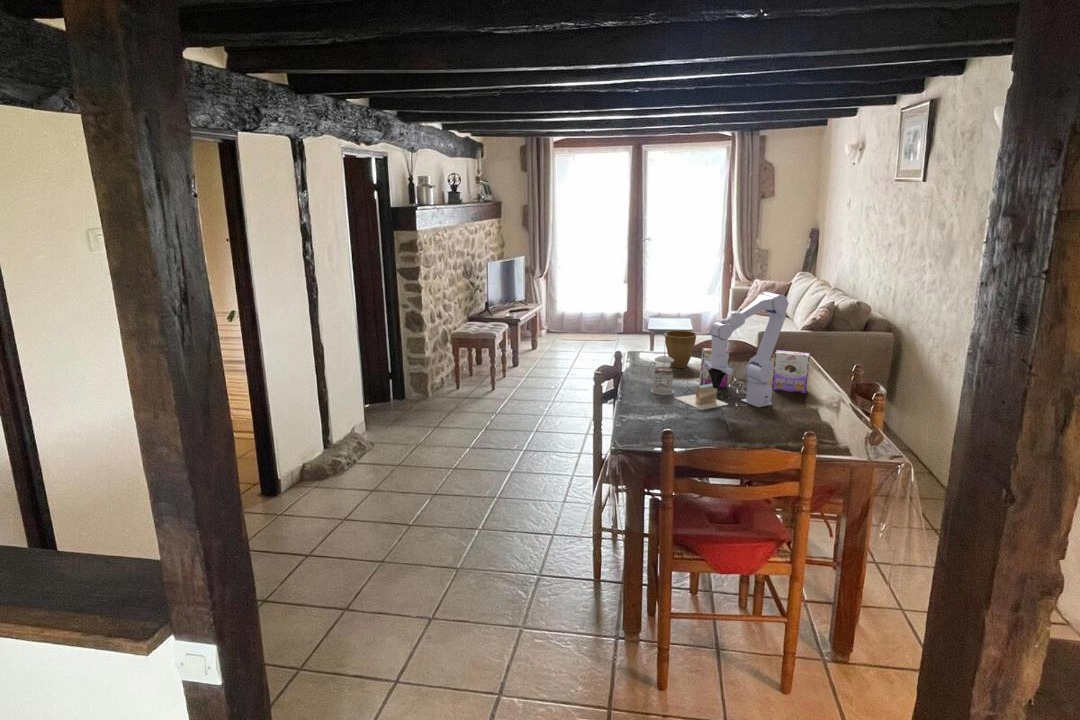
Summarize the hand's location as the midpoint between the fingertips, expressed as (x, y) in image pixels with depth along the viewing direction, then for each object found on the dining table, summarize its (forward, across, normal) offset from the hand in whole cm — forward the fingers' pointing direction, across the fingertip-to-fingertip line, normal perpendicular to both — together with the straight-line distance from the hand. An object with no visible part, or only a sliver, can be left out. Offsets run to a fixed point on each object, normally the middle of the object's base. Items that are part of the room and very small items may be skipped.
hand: (716, 388), depth 260 cm
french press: (+8, -27, -6) cm, 29 cm away
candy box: (+8, -5, +45) cm, 46 cm away
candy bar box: (+8, -23, +19) cm, 31 cm away
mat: (+8, -8, 0) cm, 11 cm away
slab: (+8, -6, 0) cm, 9 cm away
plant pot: (+8, -57, +27) cm, 64 cm away
